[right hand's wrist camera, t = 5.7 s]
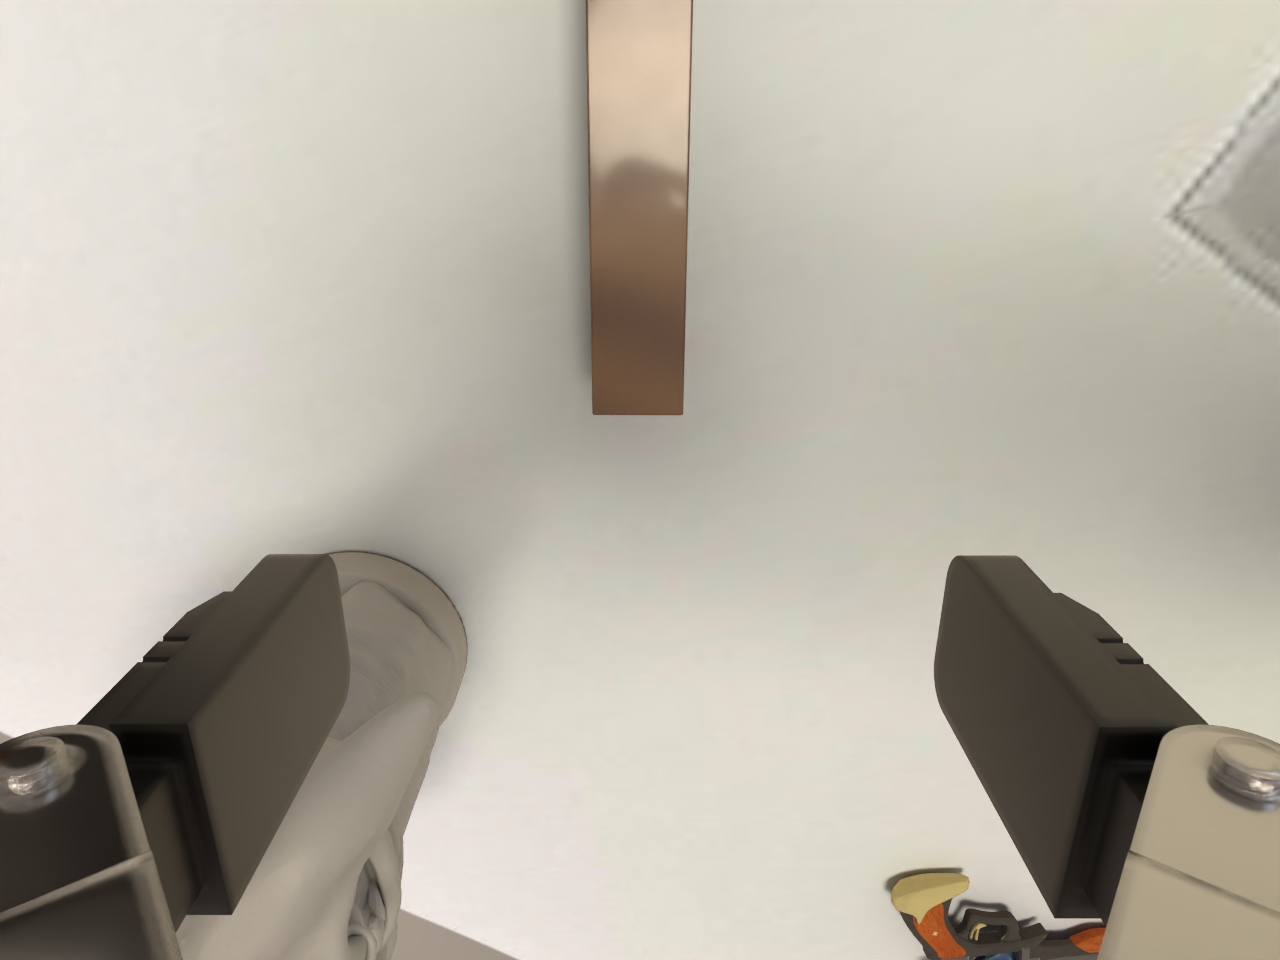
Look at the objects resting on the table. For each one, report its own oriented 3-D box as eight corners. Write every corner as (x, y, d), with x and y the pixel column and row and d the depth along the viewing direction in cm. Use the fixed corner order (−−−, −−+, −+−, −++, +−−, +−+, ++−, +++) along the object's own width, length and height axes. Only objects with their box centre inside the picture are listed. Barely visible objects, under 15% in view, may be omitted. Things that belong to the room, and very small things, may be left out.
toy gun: (899, 896, 56) (894, 1018, 59) (1174, 873, 57) (1158, 994, 60) (885, 868, 59) (881, 986, 61) (1148, 846, 60) (1133, 963, 62)
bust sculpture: (661, 571, 50) (705, 1351, 17) (381, 783, 56) (18, 1677, 23) (470, 369, 46) (51, 910, 13) (186, 622, 51) (-603, 1445, 19)
